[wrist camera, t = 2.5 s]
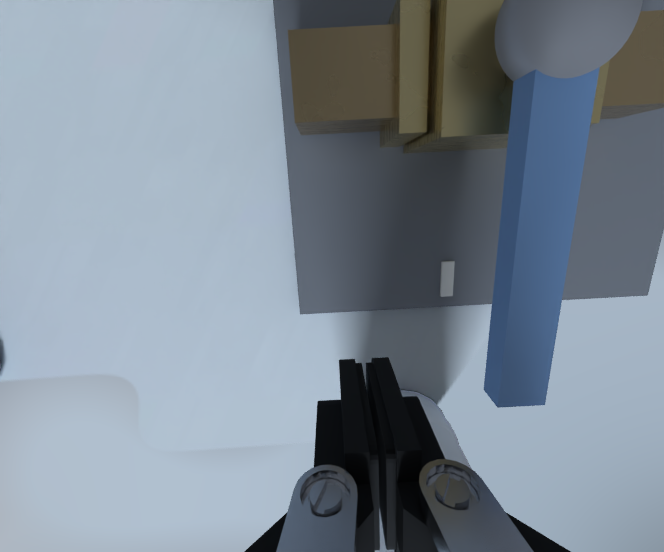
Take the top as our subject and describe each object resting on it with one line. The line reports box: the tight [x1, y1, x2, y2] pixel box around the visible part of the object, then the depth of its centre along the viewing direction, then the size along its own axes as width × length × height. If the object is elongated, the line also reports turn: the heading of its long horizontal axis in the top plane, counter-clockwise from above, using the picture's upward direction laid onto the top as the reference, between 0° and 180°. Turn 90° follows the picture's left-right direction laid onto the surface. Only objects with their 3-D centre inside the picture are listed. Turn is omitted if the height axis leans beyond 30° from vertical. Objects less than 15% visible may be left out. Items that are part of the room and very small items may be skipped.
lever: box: [484, 0, 643, 407], centre depth 11 cm, size 16×4×1 cm, turn 3°
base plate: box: [273, 0, 664, 314], centre depth 19 cm, size 18×24×1 cm
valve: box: [288, 0, 664, 154], centre depth 15 cm, size 6×18×8 cm, turn 93°
